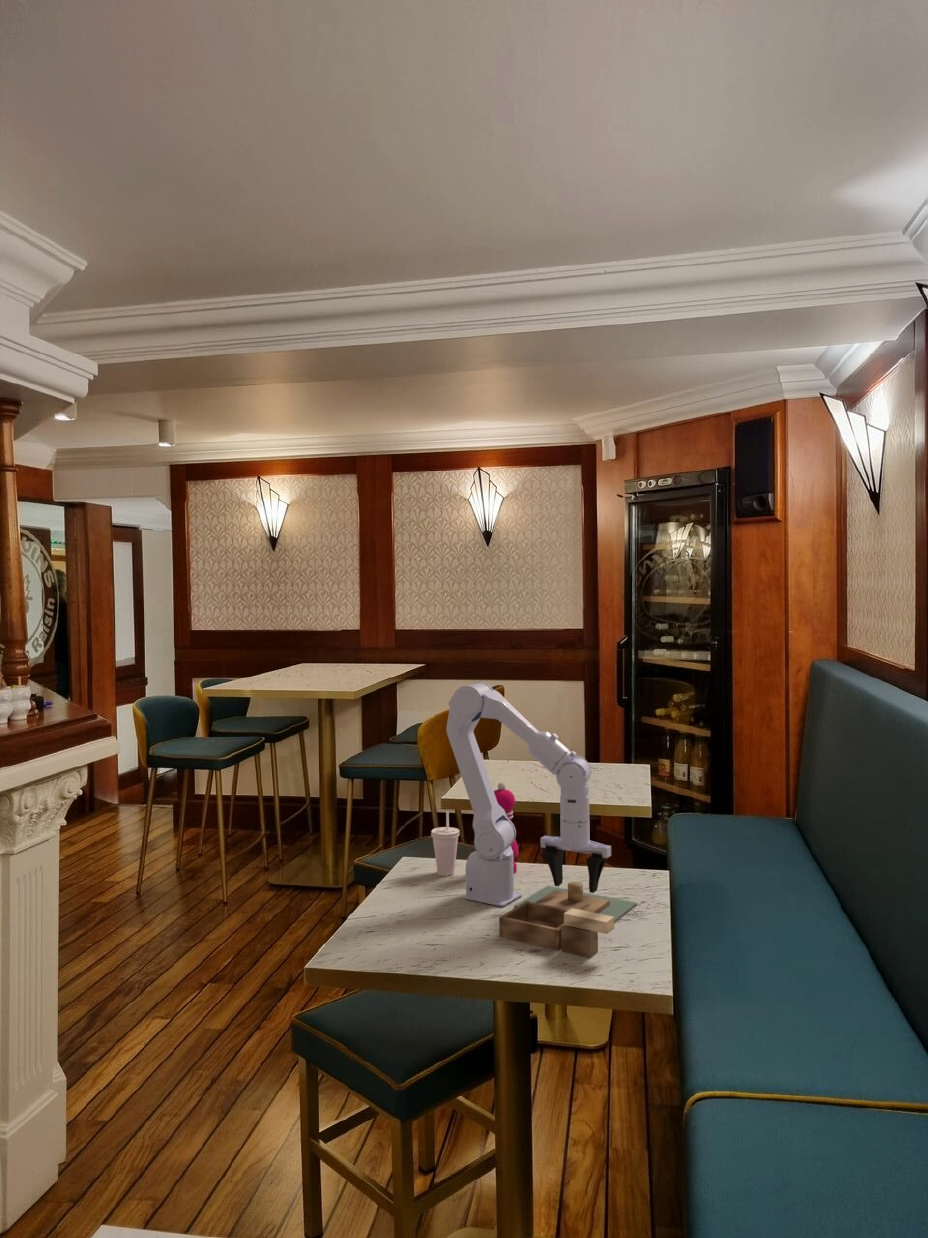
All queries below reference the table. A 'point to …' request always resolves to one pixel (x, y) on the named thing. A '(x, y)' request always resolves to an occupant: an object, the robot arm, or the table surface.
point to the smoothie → (445, 847)
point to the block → (589, 920)
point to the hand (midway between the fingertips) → (575, 888)
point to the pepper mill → (507, 812)
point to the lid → (574, 899)
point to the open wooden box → (547, 929)
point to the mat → (616, 905)
